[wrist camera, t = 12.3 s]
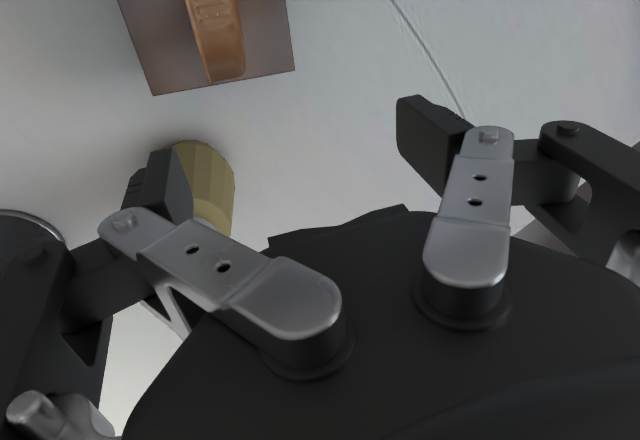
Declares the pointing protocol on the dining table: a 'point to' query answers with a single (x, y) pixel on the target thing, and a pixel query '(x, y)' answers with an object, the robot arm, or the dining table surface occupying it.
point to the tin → (218, 38)
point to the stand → (181, 50)
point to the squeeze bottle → (208, 184)
